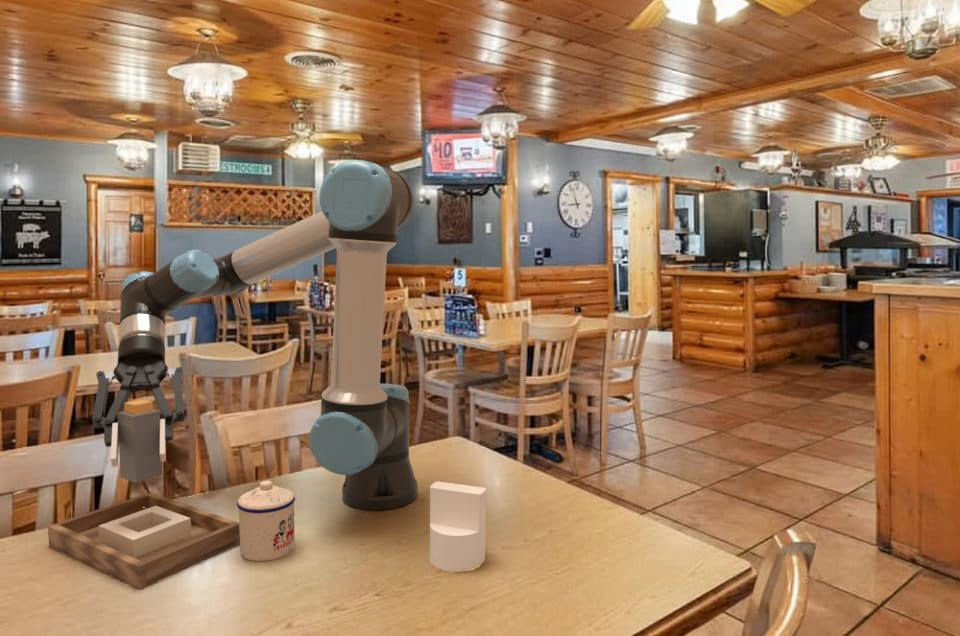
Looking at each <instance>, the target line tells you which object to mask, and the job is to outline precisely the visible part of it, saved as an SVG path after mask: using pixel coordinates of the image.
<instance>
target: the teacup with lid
mask: <svg viewBox="0 0 960 636" xmlns="http://www.w3.org/2000/svg"><path fill="white" fill-rule="evenodd" d="M295 501H296V496H295V494H294V492H292V490H290V489H288V488H285V487H280V486H278V485H273V482H272V481H271V480H263V481H260V483H259V486H257V487H256V488H253V490H249V491H247V492H245V493H243V494H242V495H241V496H239V498H238V500H237V503H236V506H237V508H238V520H239V521H238V522H239V530H240V544H239V553H240V555H241V556H242V557H243V558H245V559H246V560H249V561H253V562H266V561H273V560H277V559H280V558H283V557H284V556H287V555H288V554H289V553H291V552H292V551H293V550H294V547H295V546H296V545H295V544H296V543H295V540H296V539H295V509H294V508H295V505H294V504H295V503H294V502H295Z"/></svg>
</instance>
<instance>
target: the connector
mask: <svg viewBox="0 0 960 636" xmlns="http://www.w3.org/2000/svg"><path fill="white" fill-rule="evenodd" d="M153 408H154V406H153V401H151V400H146V399H137V400H132V401H127V402H126V403H124V410H123V412H119V413H118V422H117V423H118V428H119V453H118V456H119V473H120V474H119V475H120V478H121V479H123V480H126V481H129V482H132V483H135V484H138V483H141V482H144V481H148V480H150V479H153V478H157V477H160V476H163V462H161V460H160V419H161V412H160V410H159V409H153Z"/></svg>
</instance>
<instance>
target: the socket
mask: <svg viewBox="0 0 960 636" xmlns="http://www.w3.org/2000/svg"><path fill="white" fill-rule="evenodd" d="M190 535H191V518H189V517H186V516H183V515H180V514H178V513H175V512H172V511H169V510H166V509H164V508H161V507H158V506H153V507H151V508H148V509H145V510H142V511H139V512H136V513H133V514H130V515H128V516H125V517H122V518H119V519H116V520H113V521H110V522H108V523H105V524H102V525H99V542H100V543H101V544H103V545H106V546H108V547H110V548H112V549H115V550H117V551H119V552H121V553H124V554H126V555H128V556H130V557H133V558H136V557H139V556H141V555H144V554H146V553H149V552H151V551H153V550H156V549H158V548H161V547H163V546H166V545H168V544H171V543H173V542H175V541H178V540H180V539H183V538H185V537H188V536H190Z"/></svg>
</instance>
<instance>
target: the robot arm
mask: <svg viewBox="0 0 960 636" xmlns="http://www.w3.org/2000/svg"><path fill="white" fill-rule="evenodd" d="M318 197H319V205H320V209H321V211H319V212H317V213H314V214H313V215H310V216H308V217H306V218H304V219H302V220H300V221H297V222H295V223H293V224H290V225H289V226H286V227H284V228H281V229H280V230H278V231H275V232H273V233H271V234H269V235H267V236H264V237H262V238H260V239H257V240H256V241H253V242H251V243H248V244H247V245H244V246H242V247H240V248H237V249H235V250H234V251H231V252H229V253H227V254H225V255H223V256H220V257H217V258H213V257H211V256H210V255H209V254H208V253H206V252H203V251H202V250H200V249H191V250H188V251H187V252H185V253H183V254H180V255H178V256H177V257H175V258H174V259H173V260H172V261H170V262H169V263H167V264H166V265H164V266H163V267H161V268H160V269H158V270H157V271H156V272H152V271H147V270H146V271H144V270H143V271H139V272H137V273H136V272H133V273H131V274H129V275H127V276H126V277H125V279H124V280H123V282H122V287H121V291H120V298H119V300H120V307H119V308H120V309H119V311H120V313H119V329H118V330H119V331H118V349H117V364H116V366H115V367H114V369H113V370H112V371H108V372H104V371H102V370H100V371H97V372H96V375H95V376H96V379H97V383H98V385H97V391H96V397H95V403H94V408H93V413H92V422H93V427H94V428H95V429H104V438H103V442H104V445H105V447H106V448H109V447H110V462H111V466H112V468H116V467H118V466H119V428H118V413H119V412H123V411H124V410H125V408H124V403H126V402H129V401H128V400H129V399H130V398H131V397H132V394H133V393H136V392H141V391H143V392H151V394H152V395H151V396H152V397H154V401H155V402H156V405H157V407H158V411H160V415H161V416H162V418H160V460H161V462H162V463H163V462H166V461H167V456H166V455H167V454H166V453H167V442H172V441H173V440H174V425H175V424H176V423H178V422H184V421H185V420H186V419H185V417H186V415H185V406H184V400H183V399H184V398H183V389H182V383H183V381H184V368H183V367H182V366H178V367H176V368H169V367H168V365H167V364H166V345H165V344H166V315H167V314H168V313H170V312H173V310H176V309H177V308H179V307H181V306H183V305H184V304H186V303H187V302H188V301H190V300H193V299H200V298H203V299H204V298H210V297H220V296H234V295H237V294H239V293H240V294H241V293H243V292H245V291H246V290H248V288H249V287H250V286H251V285H253V284H255V283H257V282H260V281H262V280H264V279H267V278H269V277H271V276H274V275H276V274H278V273H281V272H283V271H285V270H288V269H290V268H293V267H295V266H297V265H300V264H302V263H303V262H306V261H308V260H312V259H313V258H315V257H318V256H321V255H322V254H324V253H327V252H329V251H332V250H334V249H336V266H335V267H336V271H335V289H334V308H333V309H334V310H333V311H334V312H333V329H332V330H333V331H332V348H331V349H332V351H331V352H332V355H331V371H330V385H329V386H328V387H326V389H325V390H323V392H322V393H321V397H320V398H321V399H320V402H321V403H320V416H319V417H318V418H317V419H316V420H315V422H314V423H313V425H312V426H311V429H310V431H309V436H308V443H309V448H310V451H311V453H312V455H313V457H314V459H315V460H316V461H317V462H318V463H319V464H320V465H321V467H323V468H324V469H325V470H326V471H328V472H330V473H333V474H336V475H340V476H345V478H344V482H343V483H342V489H341V491H342V492H341V493H342V494H341V496H342V501H343V502H344V504H346V505H348V506H350V507H352V508H355V509H359V510H367V511H385V510H391V509H396V508H401V507H404V506H407V505H409V504H411V503H413V502H414V501H415V500H416V499H417V498H418V492H419V491H418V489H419V488H418V486H419V485H418V481H417V479H416V478H415V474H414V470H413V466H412V464H411V459H410V403H411V402H410V398H409V390H408V389H407V387H406V386H404V385H401V384H392V383H381V369H382V368H381V367H382V366H381V365H382V352H383V351H382V349H383V330H384V313H385V309H384V308H385V296H386V295H385V293H386V275H387V262H388V261H387V258H388V252H389V251H390V250H391V249H392V248H393V247H395V245H397V239H398V238H397V237H398V236H397V235H398V229H399V228H401V227H402V226H404V225H405V224H406V223H407V221H409V219H410V217H411V215H412V213H413V209H414V202H415V199H414V193H413V190H412V188H411V185H410V183H409V181H407V179H406V178H405V176H403V175H401V174H400V173H398V172H396V171H395V170H393V169H389V168H386V167H383V166H381V165H379V164H377V163H375V162H373V161H367V160H359V159H357V160H355V159H353V160H347V161H344V162H342V163H339V164H338V165H336V166H335V167H333V168H332V169H331V170H330V171H329V172H328V173H327V174H326V175H325V177H324V179H323V181H322V183H321V186H320V190H319V196H318ZM166 377H169V381H170V382H172V383H173V385H172V387H173V394H174V403H175V404H174V405H175V411H172V410H171V408H170V405H169V404H168V401H167V398H166V396H165V394H164V391H163V390H162V387H161V385H160V384H161V383H162V381H164V379H165V378H166ZM113 380H117V382H118V383H120V387H119V389H118V390H119V391H118V393H117V394H116V395H115V398H114V400H113V402H112V405H111V407H110V408H109V411H108V412H107V415H106V417H105V412H106V408H107V407H106V406H107V401H108V395H109V387H110V386H111V385H112V384H113ZM416 497H417V498H416ZM415 498H416V499H415ZM413 500H414V501H413Z"/></svg>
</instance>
